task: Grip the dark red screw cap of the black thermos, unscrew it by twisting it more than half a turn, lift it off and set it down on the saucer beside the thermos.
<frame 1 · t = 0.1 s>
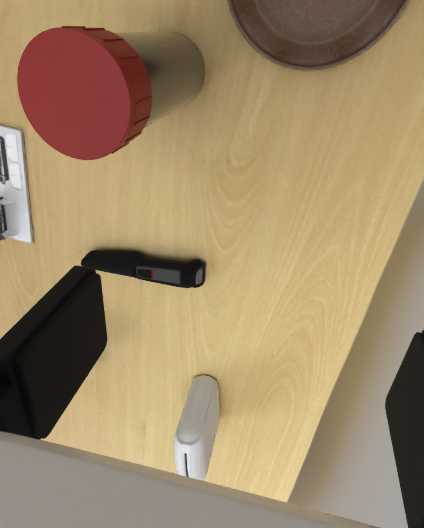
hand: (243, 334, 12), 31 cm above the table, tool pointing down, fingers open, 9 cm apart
photo printer: (207, 396, 61), on the table
thermos: (172, 70, 38), on the table
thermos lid: (78, 97, 22), point 18 cm above the table, screwed on, not yet turned
electric trimmer: (150, 262, 50), on the table
car cutout: (5, 184, 49), on the table
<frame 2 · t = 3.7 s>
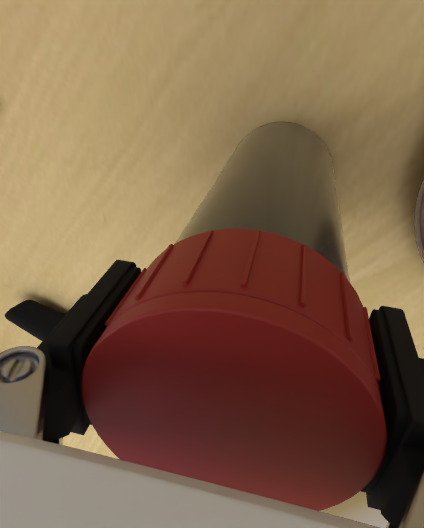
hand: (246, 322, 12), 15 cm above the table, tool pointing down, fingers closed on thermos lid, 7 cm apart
thermos: (279, 174, 24), on the table
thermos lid: (226, 409, 9), point 18 cm above the table, screwed on, not yet turned, touching gripper
electric trimmer: (102, 342, 36), on the table
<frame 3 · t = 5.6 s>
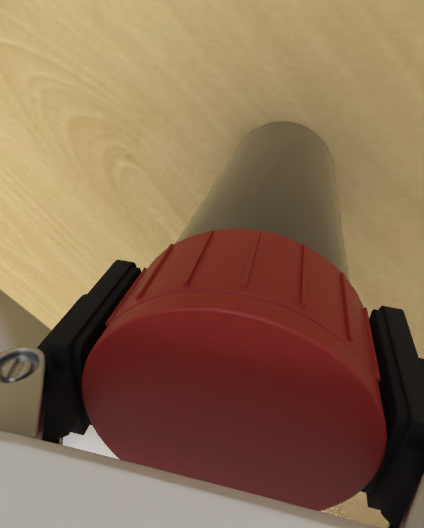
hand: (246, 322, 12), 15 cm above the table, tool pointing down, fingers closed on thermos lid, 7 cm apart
thermos: (280, 174, 25), on the table
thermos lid: (226, 409, 9), point 18 cm above the table, turned 96° so far, risen 0.2 cm, still on its thread, touching gripper
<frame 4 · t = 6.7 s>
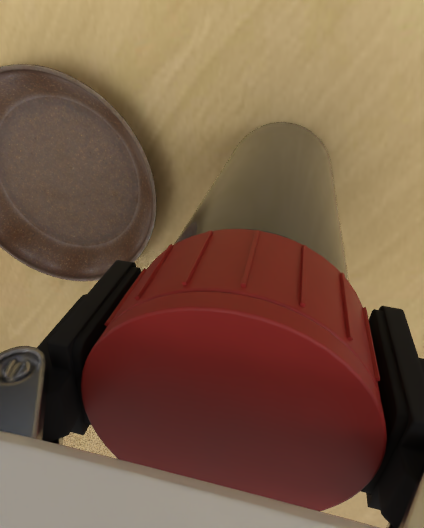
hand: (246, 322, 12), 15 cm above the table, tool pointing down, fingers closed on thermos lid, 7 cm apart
saucer: (71, 175, 28), on the table
thermos: (279, 174, 25), on the table
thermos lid: (226, 410, 9), point 18 cm above the table, turned 177° so far, risen 0.3 cm, still on its thread, touching gripper
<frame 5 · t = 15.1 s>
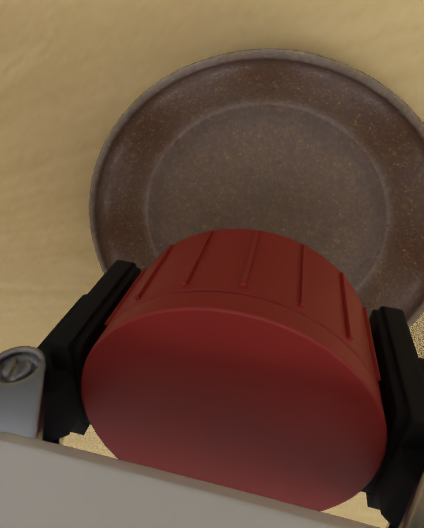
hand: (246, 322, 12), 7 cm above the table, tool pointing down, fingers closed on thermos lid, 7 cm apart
saucer: (262, 223, 18), on the table
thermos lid: (226, 410, 9), point 11 cm above the table, off its thread, touching gripper
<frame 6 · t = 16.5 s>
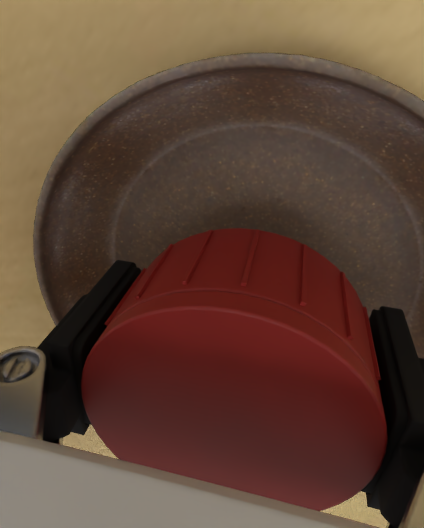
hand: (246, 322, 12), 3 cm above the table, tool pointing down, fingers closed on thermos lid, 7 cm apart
saucer: (258, 271, 15), on the table
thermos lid: (226, 409, 9), point 6 cm above the table, off its thread, touching gripper
when the fingers open (4 cm above the table, at t = 26.6 s): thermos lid drops 2 cm, resting on saucer.
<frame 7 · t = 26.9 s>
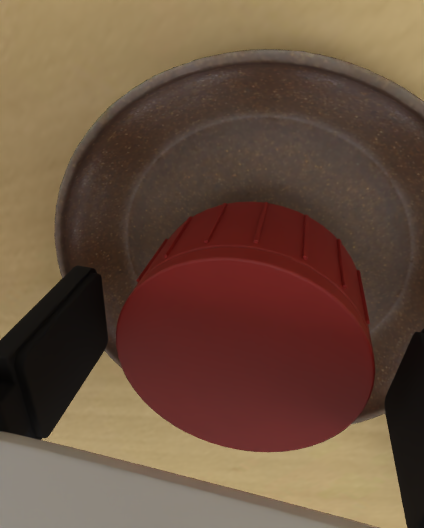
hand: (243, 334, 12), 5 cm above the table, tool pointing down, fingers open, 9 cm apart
saucer: (261, 254, 16), on the table, touching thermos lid
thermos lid: (239, 355, 11), point 6 cm above the table, off its thread, touching saucer
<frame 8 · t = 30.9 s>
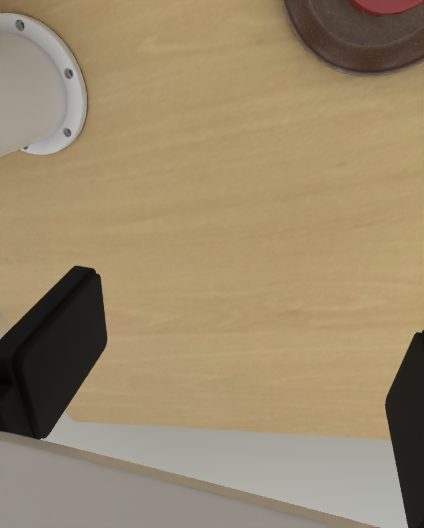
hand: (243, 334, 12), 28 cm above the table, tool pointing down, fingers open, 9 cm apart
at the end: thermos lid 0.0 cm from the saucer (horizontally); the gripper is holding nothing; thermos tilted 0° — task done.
